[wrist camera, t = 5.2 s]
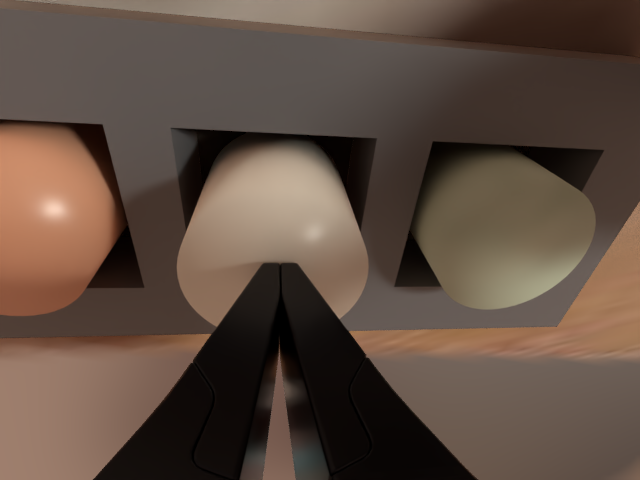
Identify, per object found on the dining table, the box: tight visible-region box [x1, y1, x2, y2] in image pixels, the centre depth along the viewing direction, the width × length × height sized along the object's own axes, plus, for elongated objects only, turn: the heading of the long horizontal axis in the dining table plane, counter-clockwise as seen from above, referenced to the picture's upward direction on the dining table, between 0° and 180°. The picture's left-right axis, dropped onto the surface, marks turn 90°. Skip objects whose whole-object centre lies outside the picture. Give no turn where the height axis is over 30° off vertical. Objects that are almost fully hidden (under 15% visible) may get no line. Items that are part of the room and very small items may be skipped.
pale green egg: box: [409, 141, 596, 310], centre depth 12 cm, size 5×5×4 cm
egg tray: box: [0, 0, 640, 338], centre depth 12 cm, size 24×10×3 cm, turn 85°
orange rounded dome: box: [0, 119, 128, 316], centre depth 10 cm, size 5×5×4 cm
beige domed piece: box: [177, 132, 369, 327], centre depth 10 cm, size 5×5×4 cm
